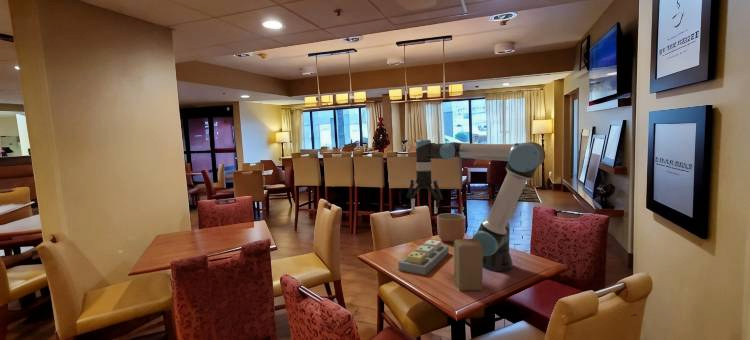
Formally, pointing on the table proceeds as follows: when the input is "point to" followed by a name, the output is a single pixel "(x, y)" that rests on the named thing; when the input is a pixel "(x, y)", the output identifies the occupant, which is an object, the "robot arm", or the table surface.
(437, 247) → the tile one
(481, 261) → the wooden block
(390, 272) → the table surface
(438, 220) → the planter
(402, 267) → the tile board
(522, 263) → the table surface
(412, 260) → the tile three
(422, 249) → the tile two
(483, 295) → the table surface
